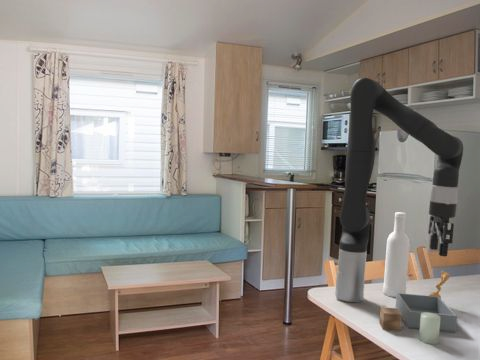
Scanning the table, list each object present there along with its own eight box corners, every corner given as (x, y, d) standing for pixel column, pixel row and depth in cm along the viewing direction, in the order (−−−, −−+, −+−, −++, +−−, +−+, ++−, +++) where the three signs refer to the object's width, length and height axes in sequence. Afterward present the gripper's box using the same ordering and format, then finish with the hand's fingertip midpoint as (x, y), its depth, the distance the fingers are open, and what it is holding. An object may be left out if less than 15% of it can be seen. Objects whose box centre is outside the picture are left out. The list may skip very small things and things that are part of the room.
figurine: (430, 299, 158) (433, 266, 157) (449, 303, 155) (452, 269, 154) (425, 305, 151) (428, 270, 150) (444, 309, 148) (447, 274, 147)
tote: (408, 328, 130) (409, 311, 130) (395, 307, 147) (396, 292, 147) (455, 332, 129) (456, 316, 128) (436, 311, 146) (438, 296, 145)
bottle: (408, 298, 157) (415, 215, 155) (386, 297, 157) (393, 213, 155) (401, 291, 165) (407, 211, 163) (380, 290, 165) (386, 210, 163)
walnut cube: (382, 329, 129) (383, 313, 128) (379, 323, 133) (380, 307, 133) (400, 331, 128) (401, 314, 128) (396, 324, 133) (397, 308, 132)
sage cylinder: (421, 343, 120) (423, 318, 120) (416, 335, 125) (418, 311, 125) (440, 345, 120) (443, 320, 119) (435, 337, 125) (437, 313, 124)
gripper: (423, 197, 143) (418, 246, 145) (438, 202, 129) (433, 257, 131) (447, 199, 143) (442, 248, 144) (465, 204, 129) (459, 259, 130)
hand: (438, 252), depth 137 cm, fingers open, 8 cm apart
